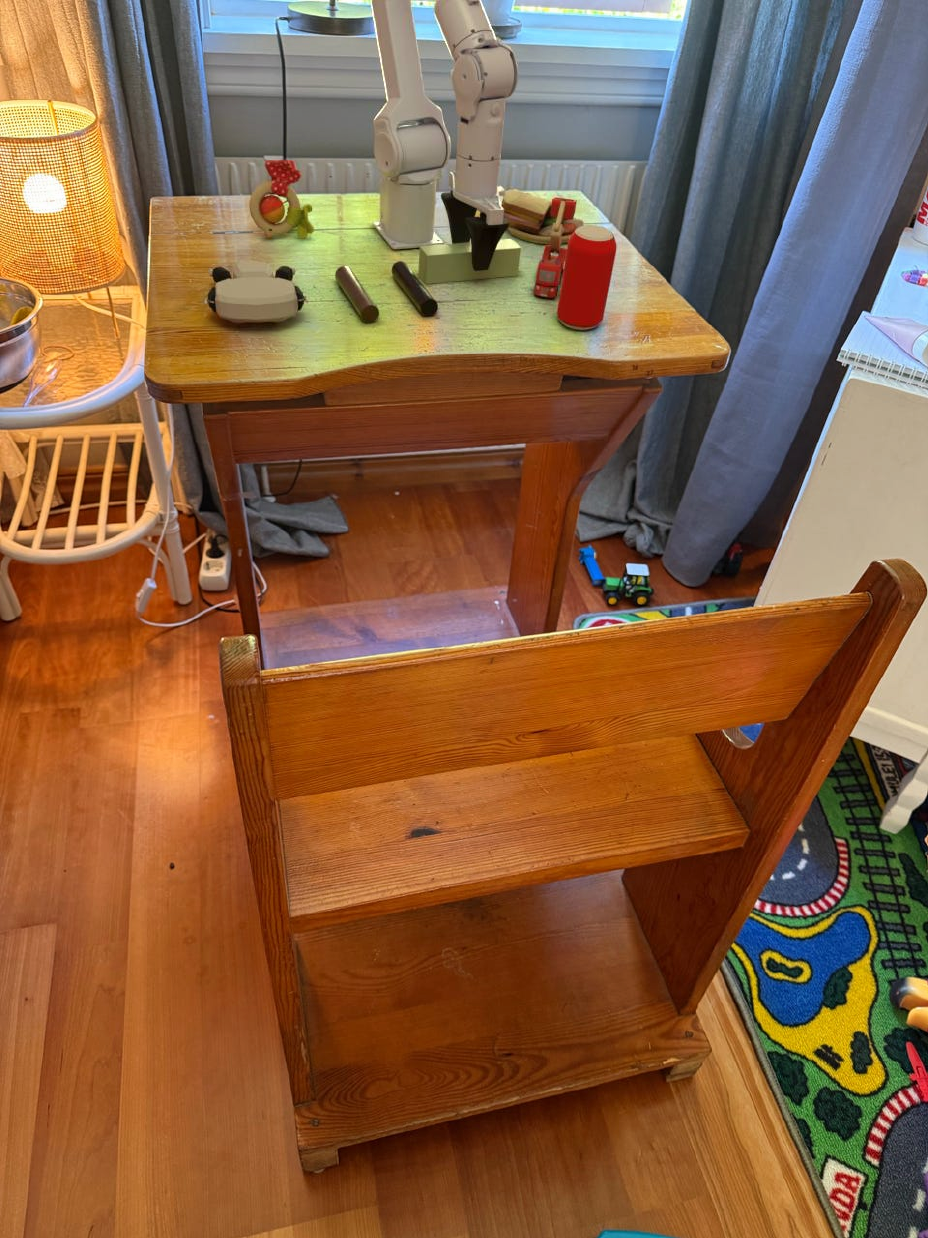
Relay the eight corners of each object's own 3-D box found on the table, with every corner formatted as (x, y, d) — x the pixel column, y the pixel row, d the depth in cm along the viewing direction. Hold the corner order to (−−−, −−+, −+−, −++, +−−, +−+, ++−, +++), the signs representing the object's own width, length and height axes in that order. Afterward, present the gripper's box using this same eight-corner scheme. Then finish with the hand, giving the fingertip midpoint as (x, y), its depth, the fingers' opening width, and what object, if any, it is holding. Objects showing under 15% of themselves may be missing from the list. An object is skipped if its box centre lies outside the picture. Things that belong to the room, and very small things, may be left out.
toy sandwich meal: (568, 253, 138) (573, 221, 135) (485, 234, 141) (487, 202, 138) (590, 226, 147) (595, 195, 144) (511, 208, 150) (514, 178, 146)
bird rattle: (276, 260, 133) (330, 230, 134) (239, 189, 125) (297, 157, 125) (265, 243, 137) (317, 214, 138) (228, 174, 129) (284, 143, 129)
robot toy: (206, 290, 122) (208, 335, 111) (202, 255, 119) (203, 298, 108) (300, 288, 124) (310, 333, 113) (298, 254, 121) (308, 296, 110)
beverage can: (547, 323, 121) (560, 231, 113) (570, 307, 125) (585, 217, 116) (587, 338, 119) (604, 245, 110) (609, 322, 122) (627, 231, 114)
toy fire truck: (531, 298, 126) (541, 226, 119) (545, 259, 136) (554, 191, 129) (555, 302, 126) (566, 230, 119) (567, 263, 135) (578, 195, 129)
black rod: (391, 278, 127) (391, 261, 125) (407, 277, 128) (408, 260, 126) (420, 317, 119) (421, 299, 117) (437, 315, 120) (438, 298, 118)
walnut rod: (335, 283, 124) (334, 266, 123) (352, 282, 125) (352, 264, 124) (361, 323, 117) (361, 305, 115) (379, 322, 117) (379, 304, 116)
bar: (426, 284, 127) (427, 255, 124) (418, 274, 129) (419, 245, 126) (517, 275, 131) (521, 247, 128) (508, 266, 133) (512, 238, 130)
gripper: (529, 171, 115) (517, 277, 125) (485, 135, 125) (477, 235, 134) (478, 174, 113) (469, 281, 122) (437, 137, 123) (431, 239, 132)
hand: (470, 258), depth 128 cm, fingers open, 7 cm apart
